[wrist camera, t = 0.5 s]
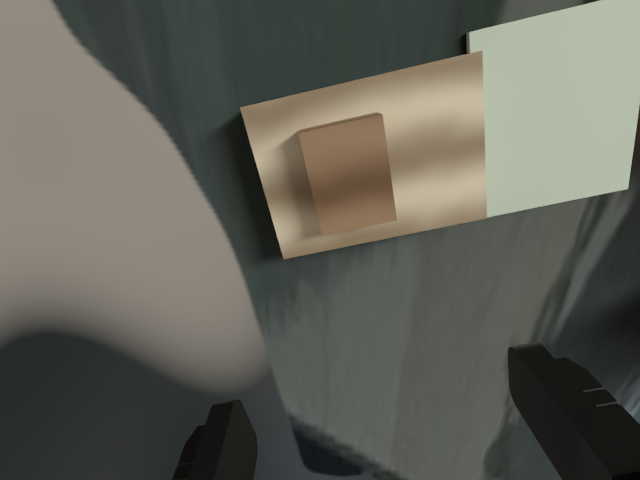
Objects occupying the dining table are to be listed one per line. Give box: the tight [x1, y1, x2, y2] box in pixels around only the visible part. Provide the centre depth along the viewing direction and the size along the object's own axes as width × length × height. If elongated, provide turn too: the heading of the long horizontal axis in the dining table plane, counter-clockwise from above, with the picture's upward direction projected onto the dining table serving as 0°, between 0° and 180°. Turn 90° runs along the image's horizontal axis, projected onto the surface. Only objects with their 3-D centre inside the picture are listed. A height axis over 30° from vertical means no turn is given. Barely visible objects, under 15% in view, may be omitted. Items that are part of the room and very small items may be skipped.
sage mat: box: [466, 0, 640, 217], centre depth 30 cm, size 16×14×1 cm
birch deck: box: [240, 51, 487, 259], centre depth 30 cm, size 13×18×4 cm
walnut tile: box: [298, 112, 397, 236], centre depth 27 cm, size 8×6×2 cm
